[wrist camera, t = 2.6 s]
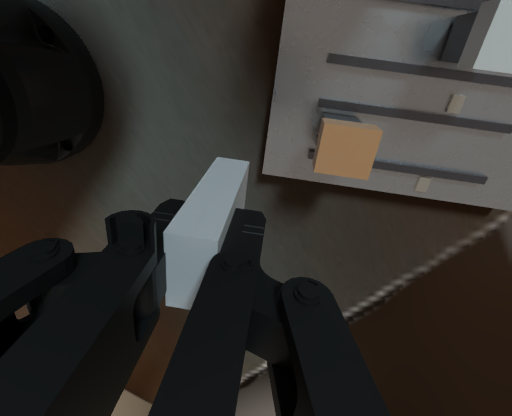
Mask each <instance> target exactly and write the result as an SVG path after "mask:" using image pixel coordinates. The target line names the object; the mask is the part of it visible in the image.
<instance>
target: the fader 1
mask: <svg viewBox="0 0 512 416" xmlns="http://www.w3.org/2000/svg"><path fill="white" fill-rule="evenodd" d="M382 134H383V131H382V130H381V129H380V128H379V127H378V126H376V125H372V124H365V123H362V122H361V121H360V119H359V118H357V117H350V116H342V115H335V114H328V113H323V115H322V119H321V124H320V128H319V133H318V138H317V142H316V148H315V152H314V157H313V161H312V166H313V171H314V172H316V173H322V174H329V175H336V176H343V177H349V178H356V179H363V180H368V178H369V175H370V172H371V169H372V166H373V162H374V159H375V156H376V153H377V150H378V147H379V144H380V140H381V137H382Z"/></svg>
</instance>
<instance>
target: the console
mask: <svg viewBox="0 0 512 416" xmlns="http://www.w3.org/2000/svg"><path fill="white" fill-rule="evenodd" d="M485 1H489V0H286V2H285V9H284V17H283V24H282V31H281V39H280V46H279V53H278V61H277V68H276V75H275V83H274V90H273V97H272V105H271V112H270V120H269V127H268V134H267V142H266V149H265V156H264V164H263V171H262V174H267V175H274V176H281V177H287V178H294V179H301V180H308V181H314V182H321V183H328V184H334V185H341V186H348V187H354V188H361V189H368V190H375V191H381V192H388V193H395V194H401V195H408V196H415V197H421V198H428V199H435V200H442V201H448V202H455V203H462V204H468V205H475V206H482V207H488V208H495V209H502V210H509V211H512V74H505V73H498V72H490V71H483V70H475V69H467V68H460V67H457V65H458V64H457V63H450V62H442V61H440V60H441V57H442V54H443V51H444V49H445V46H446V43H447V40H448V38H449V35H450V32H451V30H452V27H453V24H454V21H455V19H456V16H458V15H462V14H467V13H472V12H477V11H479V9H480V6H481V4H482V2H485ZM323 113H328V114H335V115H342V116H350V117H357V118H359V119H360V121H361V122H362V123H365V124H372V125H376V126H378V127H379V128H380V129H381V130H382V131H383V134H382V137H381V140H380V144H379V147H378V150H377V153H376V156H375V159H374V162H373V166H372V169H371V172H370V175H369V178H368V180H363V179H356V178H349V177H343V176H336V175H329V174H322V173H316V172H314V171H313V166H312V161H313V157H314V152H315V148H316V142H317V138H318V133H319V128H320V124H321V119H322V115H323Z"/></svg>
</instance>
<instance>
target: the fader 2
mask: <svg viewBox="0 0 512 416" xmlns="http://www.w3.org/2000/svg"><path fill="white" fill-rule="evenodd" d="M440 61H442V62H450V63H457V64H458V65H457V67H460V68H467V69H475V70H483V71H490V72H498V73H505V74H512V0H489V1H485V2H482V4H481V6H480V9H479V11H477V12H472V13H467V14H462V15H458V16H456V19H455V21H454V24H453V27H452V30H451V32H450V35H449V38H448V40H447V43H446V46H445V49H444V51H443V54H442V57H441V60H440Z"/></svg>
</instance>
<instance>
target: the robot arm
mask: <svg viewBox="0 0 512 416" xmlns="http://www.w3.org/2000/svg"><path fill="white" fill-rule="evenodd" d="M103 110H104V98H103V90H102V85H101V81H100V77H99V74H98V71H97V68H96V66H95V63H94V61H93V59H92V57H91V55H90V53H89V51H88V50H87V48H86V46H85V45H84V43H83V42H82V40H81V39H80V38H79V36H78V35H77V34H76V32H75V31H74V30H73V29H72V28H71V27H70V26H69V24H68V23H67V22H66V21H65V20H64V19H62V18H61V17H60V16H59V15H58V14H57V13H55V12H54V11H53V10H52V9H50V8H49V7H47V6H46V5H44V4H43V3H41V2H39V1H37V0H0V165H25V164H47V163H53V162H57V161H61V160H63V159H66V158H68V157H70V156H72V155H74V154H76V153H78V152H80V151H82V150H83V149H85V148H86V147H87V146H88V145H89V144H90V143H91V142H92V141H93V139H94V138H95V136H96V135H97V133H98V131H99V128H100V125H101V122H102V118H103ZM248 170H249V162H248V161H241V160H234V159H228V158H221V157H217V158H216V160H215V161H214V162H213V164H212V165H211V166H210V168H209V169H208V171H207V172H206V173H205V175H204V176H203V178H202V179H201V180H200V182H199V183H198V185H197V186H196V187H195V189H194V190H193V192H192V193H191V194H190V196H189V197H188V199H187V200H186V201H183V200H176V199H169V200H167V201H165V202H163V203H161V204H160V205H159V206H158V207H157V208H156V209H155V210H154V212H153V213H152V214H149V213H147V212H143V211H136V210H128V211H121V212H117V213H114V214H111V215H110V216H108V217H107V218H105V224H106V231H107V238H108V245H107V246H106V247H105V248H104V249H103V250H102V252H90V253H75V252H74V248H73V245H72V243H71V242H69V241H68V240H65V239H60V238H46V239H42V240H37V241H34V242H31V243H29V244H26V245H24V246H22V247H20V248H18V249H16V250H14V251H13V252H11V253H9V254H7V255H5V256H3V257H1V258H0V416H111V414H112V412H113V410H114V408H115V406H116V404H117V402H118V400H119V398H120V396H121V394H122V392H123V390H124V388H125V386H126V384H127V382H128V380H129V378H130V376H131V374H132V372H133V370H134V368H135V366H136V364H137V362H138V360H139V358H140V356H141V354H142V352H143V350H144V348H145V346H146V344H147V342H148V340H149V338H150V336H151V334H152V332H153V330H154V328H155V326H156V324H157V321H158V319H159V315H160V302H161V300H162V299H163V297H164V295H165V298H166V306H170V307H176V308H182V309H188V310H190V312H189V315H188V317H187V320H186V322H185V325H184V327H183V330H182V332H181V335H180V337H179V340H178V342H177V345H176V347H175V350H174V352H173V355H172V357H171V360H170V362H169V365H168V367H167V370H166V372H165V375H164V377H163V380H162V382H161V385H160V387H159V390H158V392H157V395H156V397H155V400H154V402H153V405H152V407H151V410H150V412H149V415H148V416H235V412H236V406H237V399H238V393H239V387H240V381H241V375H242V369H243V363H244V356H245V351H246V350H248V351H249V352H251V353H253V354H255V355H257V356H259V357H261V358H263V359H265V360H267V366H268V372H269V378H270V383H271V389H272V395H273V401H274V407H275V412H276V416H391V415H390V413H389V411H388V409H387V407H386V405H385V403H384V401H383V399H382V397H381V394H380V392H379V390H378V388H377V386H376V384H375V382H374V380H373V378H372V376H371V374H370V371H369V369H368V367H367V365H366V363H365V361H364V359H363V357H362V355H361V353H360V350H359V348H358V346H357V344H356V342H355V340H354V338H353V336H352V334H351V332H350V330H349V327H348V325H347V323H346V321H345V319H344V317H343V315H342V313H341V311H340V309H339V306H338V304H337V302H336V300H335V298H334V296H333V294H332V293H331V292H330V290H329V289H328V288H327V287H326V286H325V285H323V284H322V283H321V282H319V281H316V280H314V279H311V278H306V277H296V278H291V279H290V280H288V281H286V282H285V283H284V284H283V283H281V282H278V281H276V280H274V279H272V278H270V277H269V276H268V275H267V274H265V272H264V271H263V270H262V268H261V266H260V255H261V249H262V243H263V236H264V230H265V223H266V218H265V217H264V215H263V213H262V212H259V211H253V210H247V209H244V205H245V196H246V187H247V179H248ZM25 304H26V306H27V309H28V312H29V315H27V316H26V317H24V318H22V319H16V316H15V313H14V312H15V311H17V310H18V309H19V308H21V307H22V306H24V305H25Z"/></svg>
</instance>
